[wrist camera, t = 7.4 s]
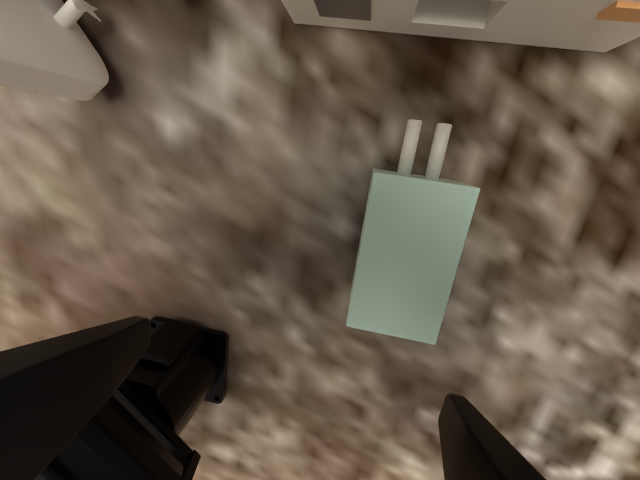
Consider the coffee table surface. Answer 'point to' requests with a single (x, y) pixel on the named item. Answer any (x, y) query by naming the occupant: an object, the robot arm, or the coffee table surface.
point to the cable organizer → (49, 49)
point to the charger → (410, 244)
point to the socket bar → (485, 20)
